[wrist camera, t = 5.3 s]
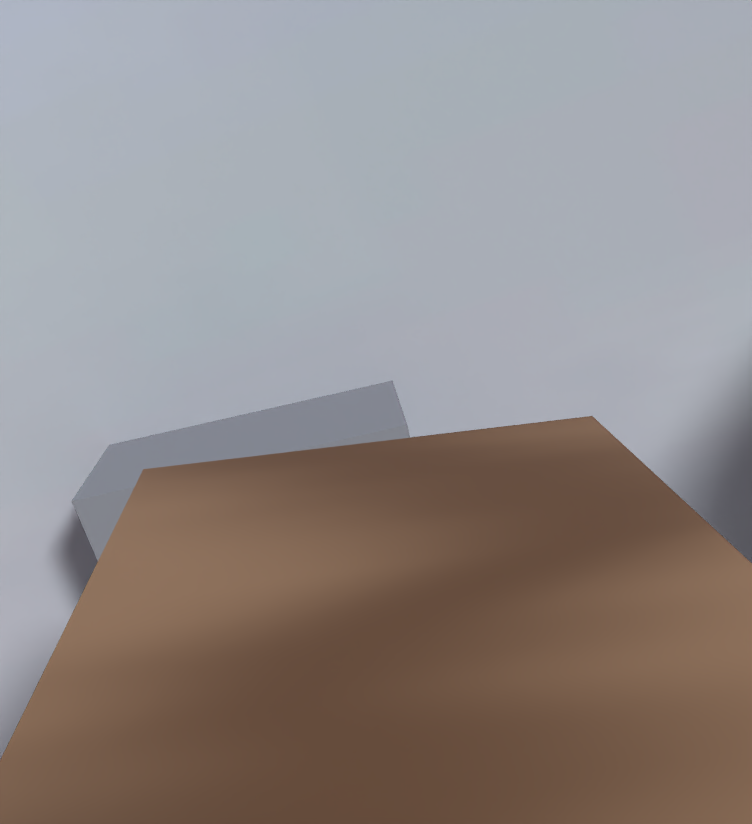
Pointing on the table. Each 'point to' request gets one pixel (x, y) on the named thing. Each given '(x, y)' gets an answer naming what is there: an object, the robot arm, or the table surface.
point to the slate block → (236, 446)
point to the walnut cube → (400, 645)
